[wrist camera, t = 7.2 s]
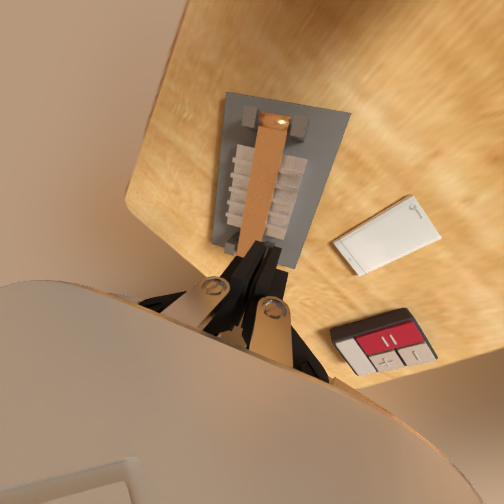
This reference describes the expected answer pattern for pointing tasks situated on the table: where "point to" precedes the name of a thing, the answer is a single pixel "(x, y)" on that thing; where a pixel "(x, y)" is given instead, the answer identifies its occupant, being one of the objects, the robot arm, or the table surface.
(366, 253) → the hard drive
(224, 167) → the grey mounting plate
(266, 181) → the retention strap
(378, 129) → the table surface
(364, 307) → the table surface
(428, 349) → the calculator
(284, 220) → the heat sink
